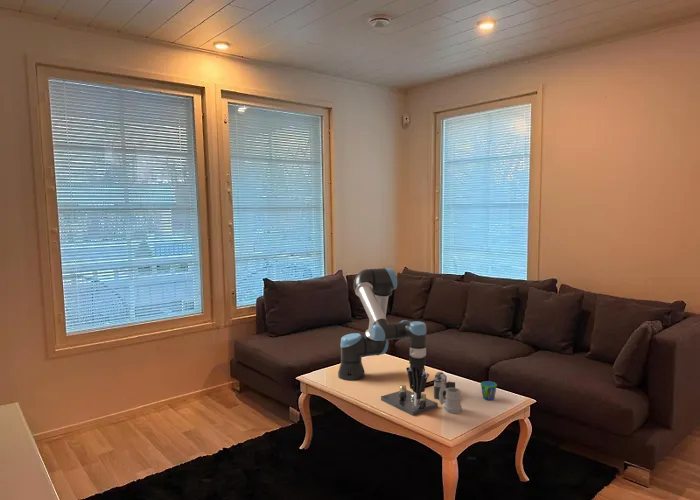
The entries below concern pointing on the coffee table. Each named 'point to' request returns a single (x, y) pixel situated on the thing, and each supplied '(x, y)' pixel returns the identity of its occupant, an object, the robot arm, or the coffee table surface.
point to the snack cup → (488, 390)
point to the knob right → (422, 401)
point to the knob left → (402, 392)
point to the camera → (438, 381)
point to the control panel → (407, 403)
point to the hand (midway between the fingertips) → (417, 405)
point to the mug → (450, 399)
